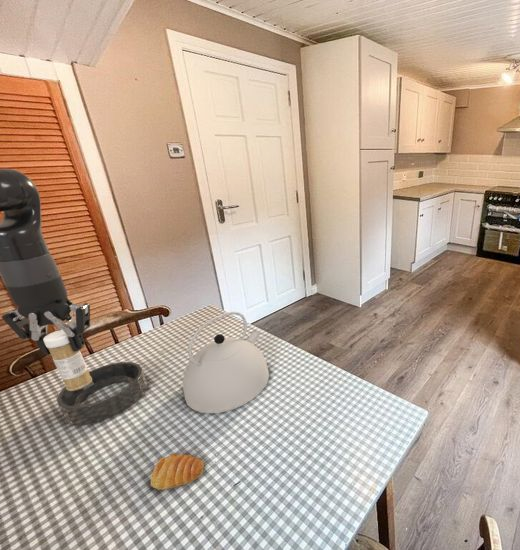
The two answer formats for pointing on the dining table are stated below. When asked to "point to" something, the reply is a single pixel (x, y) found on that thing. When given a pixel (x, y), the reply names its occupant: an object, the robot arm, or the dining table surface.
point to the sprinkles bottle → (67, 361)
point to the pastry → (176, 471)
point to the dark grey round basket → (109, 406)
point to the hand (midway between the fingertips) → (64, 350)
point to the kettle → (224, 372)
